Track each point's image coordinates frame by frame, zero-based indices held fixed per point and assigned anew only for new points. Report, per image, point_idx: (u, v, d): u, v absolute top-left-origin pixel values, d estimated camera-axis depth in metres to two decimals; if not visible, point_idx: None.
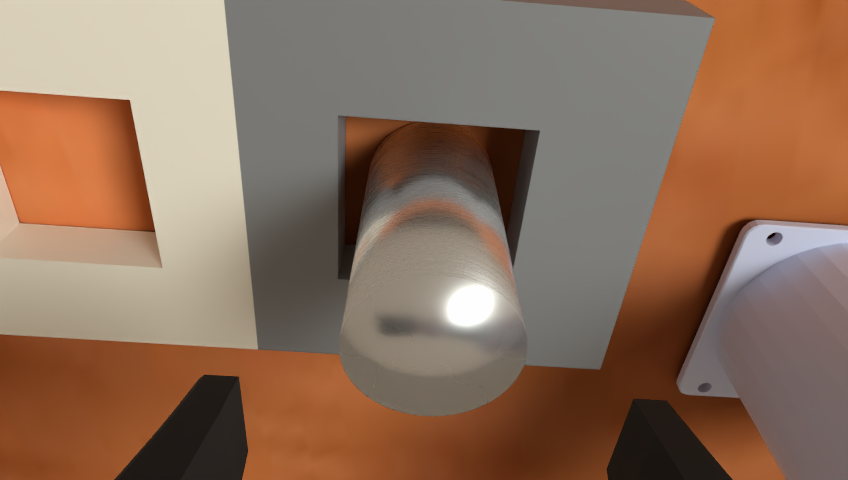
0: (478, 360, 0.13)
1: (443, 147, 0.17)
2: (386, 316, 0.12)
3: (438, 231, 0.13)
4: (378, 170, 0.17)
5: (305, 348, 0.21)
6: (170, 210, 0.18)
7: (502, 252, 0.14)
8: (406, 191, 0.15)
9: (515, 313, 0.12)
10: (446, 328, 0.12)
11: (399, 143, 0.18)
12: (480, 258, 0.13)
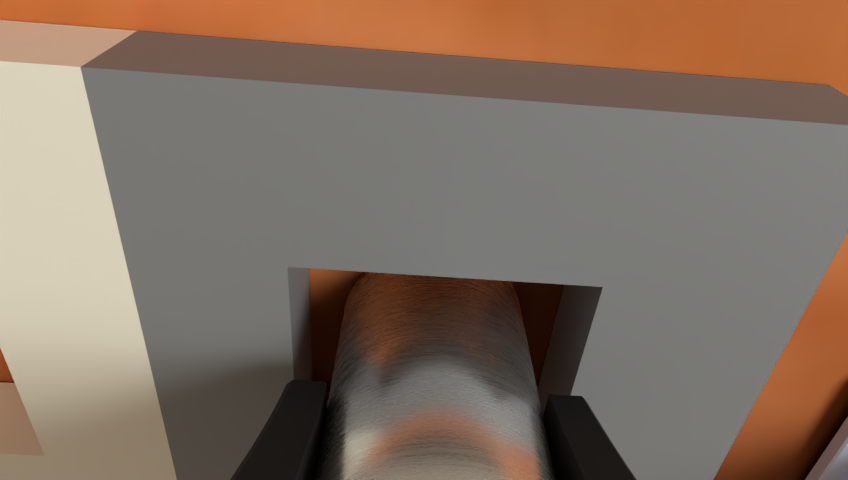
0: None
1: (452, 307, 0.11)
2: None
3: None
4: (353, 338, 0.11)
5: None
6: (45, 387, 0.12)
7: None
8: (392, 416, 0.09)
9: None
10: None
11: (385, 291, 0.12)
12: None
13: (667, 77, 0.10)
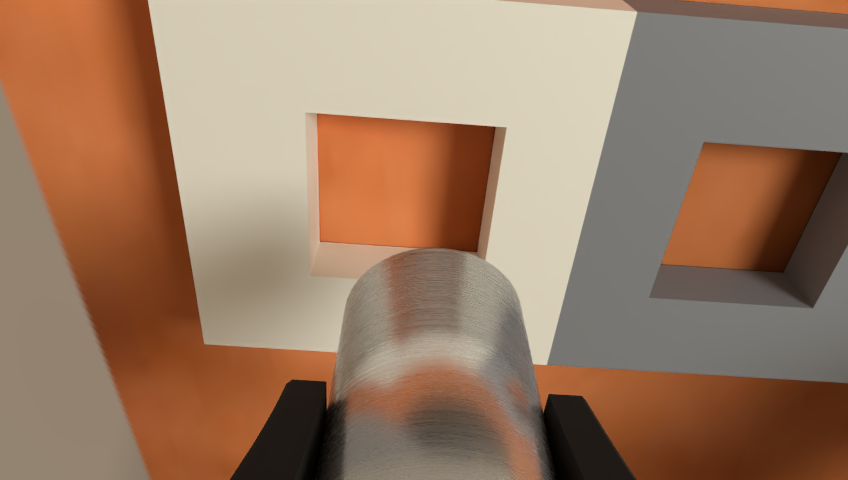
0: None
1: (453, 307, 0.11)
2: None
3: None
4: (353, 339, 0.11)
5: (593, 364, 0.21)
6: (508, 232, 0.18)
7: None
8: (392, 418, 0.09)
9: None
10: None
11: (386, 291, 0.12)
12: None
13: None
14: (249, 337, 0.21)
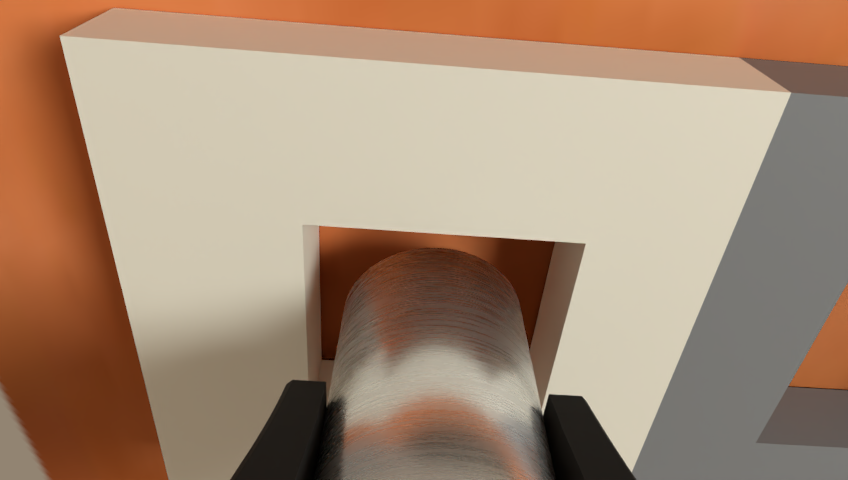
0: None
1: (452, 307, 0.11)
2: None
3: None
4: (352, 339, 0.11)
5: None
6: (577, 369, 0.14)
7: None
8: (392, 418, 0.09)
9: None
10: None
11: (385, 291, 0.12)
12: None
13: None
14: None
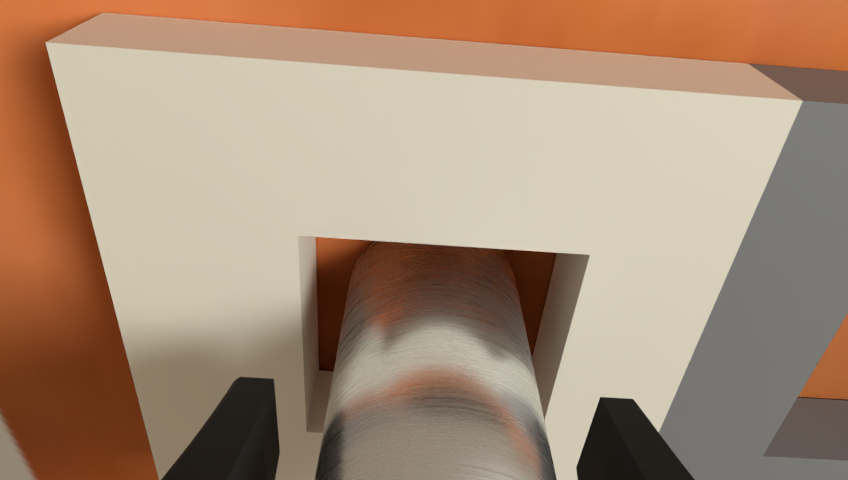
0: None
1: (451, 273, 0.12)
2: None
3: (446, 470, 0.08)
4: (358, 304, 0.12)
5: None
6: (580, 381, 0.13)
7: None
8: (396, 368, 0.10)
9: None
10: None
11: (389, 261, 0.13)
12: None
13: None
14: None
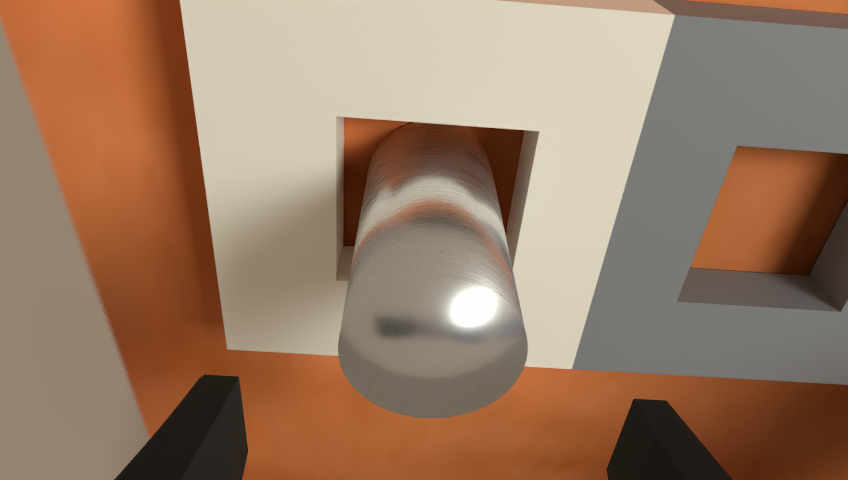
0: (478, 362, 0.13)
1: (442, 147, 0.17)
2: (385, 318, 0.12)
3: (438, 233, 0.13)
4: (377, 170, 0.17)
5: (618, 368, 0.21)
6: (537, 236, 0.18)
7: (502, 253, 0.14)
8: (405, 192, 0.15)
9: (515, 314, 0.12)
10: (446, 329, 0.12)
11: (398, 143, 0.18)
12: (480, 260, 0.13)
13: None
14: (273, 342, 0.21)
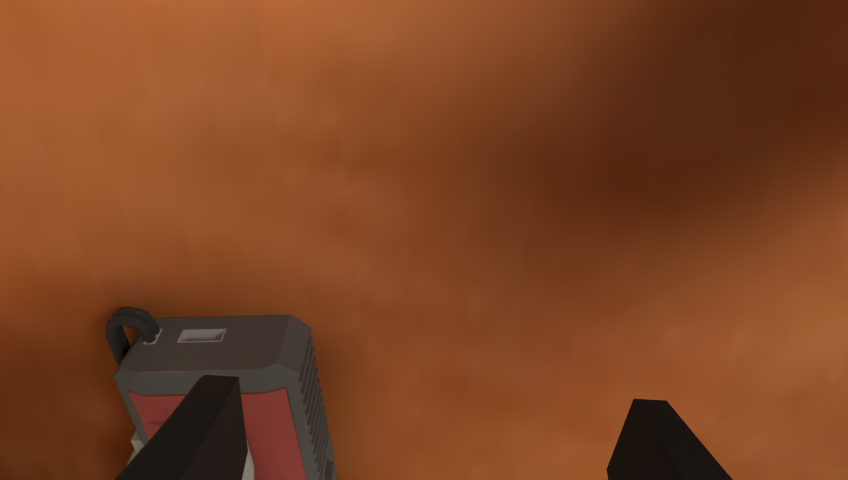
0: None
1: None
2: None
3: None
4: None
5: None
6: None
7: None
8: None
9: None
10: None
11: None
12: None
13: None
14: None
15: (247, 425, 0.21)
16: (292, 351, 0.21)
